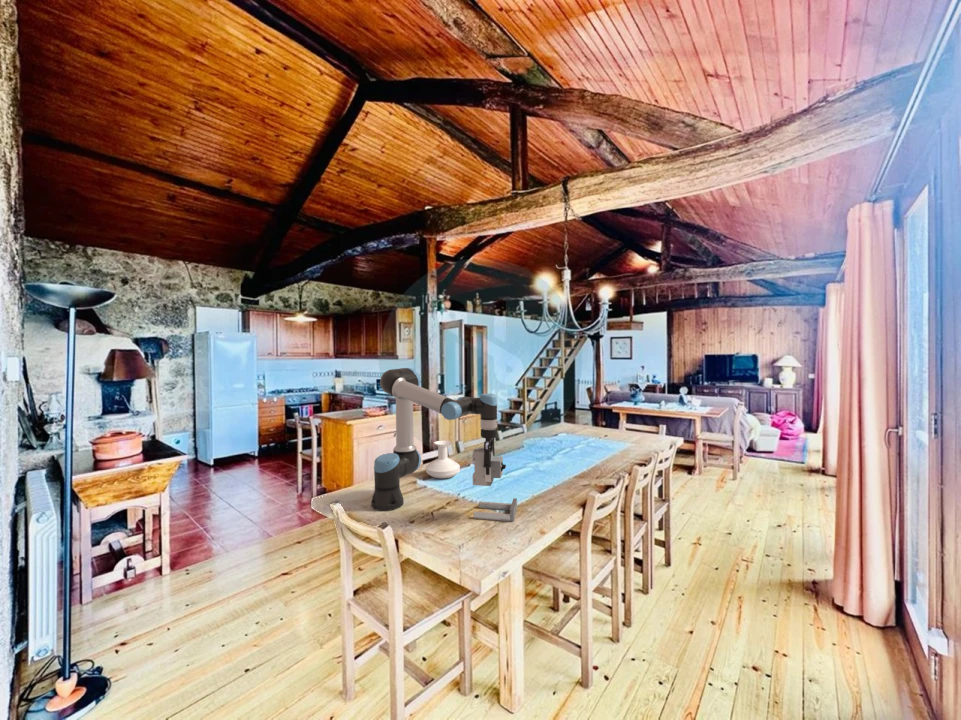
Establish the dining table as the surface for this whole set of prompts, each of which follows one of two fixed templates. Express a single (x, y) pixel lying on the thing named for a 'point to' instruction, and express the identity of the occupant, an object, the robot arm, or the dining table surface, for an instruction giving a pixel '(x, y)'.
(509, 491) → the dining table surface
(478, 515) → the channel
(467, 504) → the dining table surface
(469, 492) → the dining table surface
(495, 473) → the circuit breaker
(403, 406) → the robot arm
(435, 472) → the white vase
